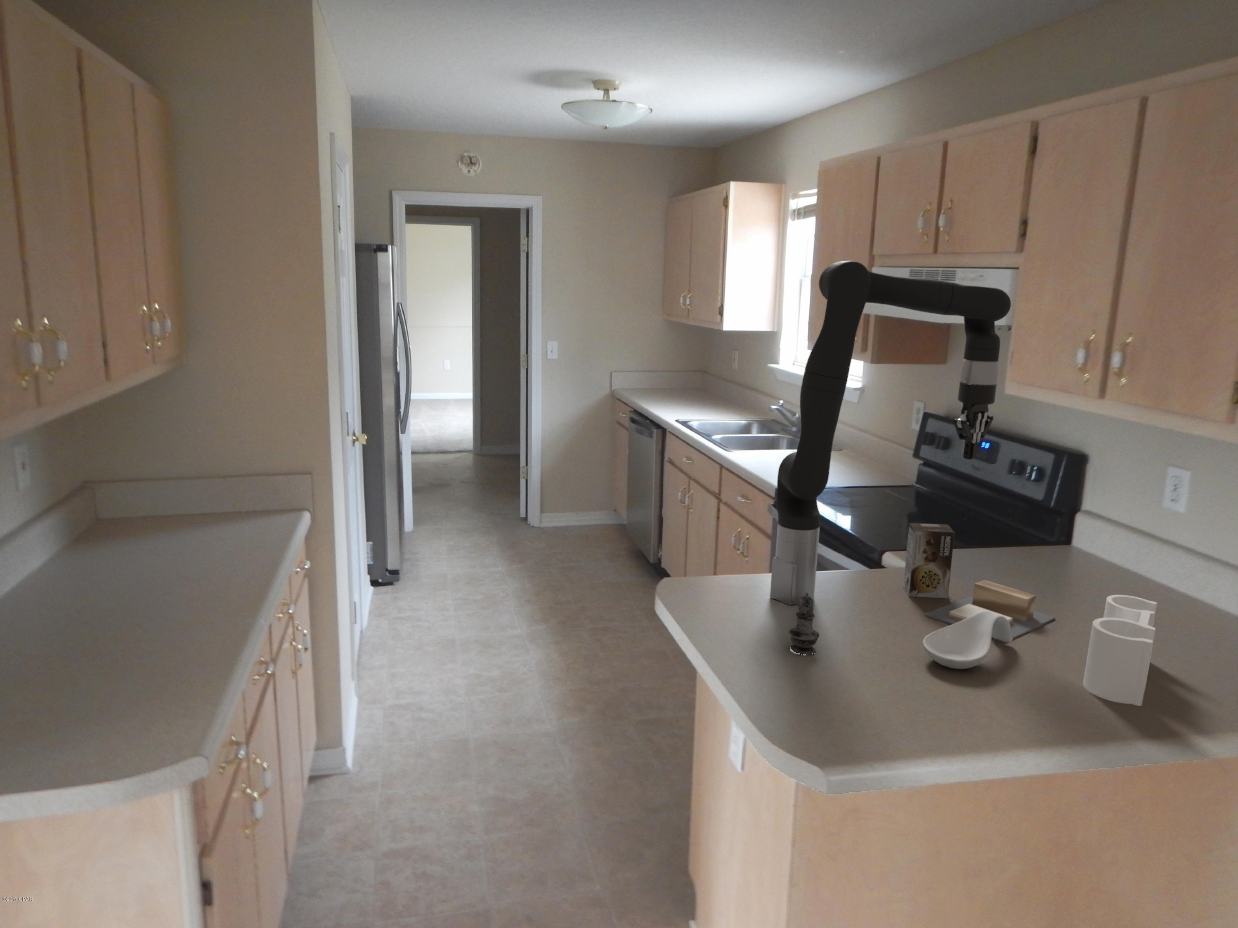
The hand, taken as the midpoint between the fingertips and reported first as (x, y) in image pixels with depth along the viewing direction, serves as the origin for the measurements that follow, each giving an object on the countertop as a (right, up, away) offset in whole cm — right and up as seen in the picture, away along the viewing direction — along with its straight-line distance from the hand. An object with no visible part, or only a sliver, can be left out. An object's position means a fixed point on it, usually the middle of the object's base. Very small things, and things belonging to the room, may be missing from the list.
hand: (969, 458), depth 197 cm
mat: (+3, -35, -3) cm, 35 cm away
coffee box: (-6, -32, +10) cm, 34 cm away
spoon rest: (-9, -39, -23) cm, 46 cm away
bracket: (+16, -41, -30) cm, 53 cm away
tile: (0, -34, -6) cm, 35 cm away
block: (+7, -34, 0) cm, 35 cm away
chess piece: (-42, -38, -23) cm, 61 cm away
